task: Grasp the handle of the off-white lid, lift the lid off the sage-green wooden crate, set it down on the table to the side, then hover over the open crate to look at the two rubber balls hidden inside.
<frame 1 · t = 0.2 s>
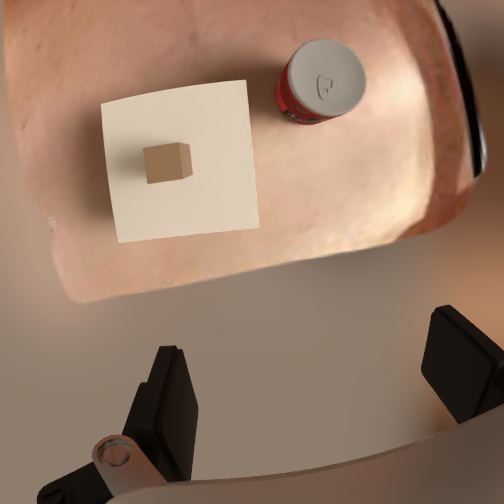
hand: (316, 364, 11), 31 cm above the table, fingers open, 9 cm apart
canned food: (304, 95, 36), on the table
lid: (178, 161, 31), point 7 cm above the table, touching crate
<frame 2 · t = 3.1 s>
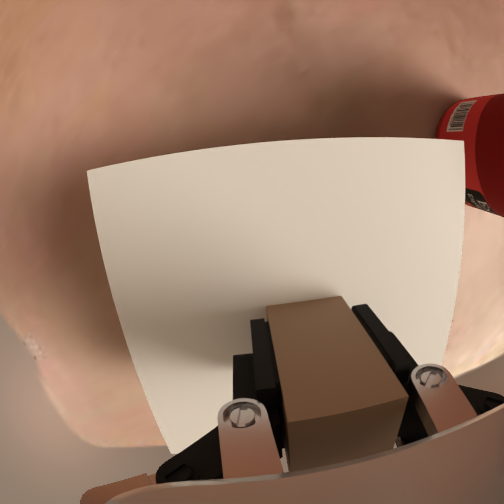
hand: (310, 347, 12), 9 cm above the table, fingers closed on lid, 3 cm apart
canned food: (467, 151, 19), on the table
lid: (301, 321, 14), point 7 cm above the table, touching crate, gripper
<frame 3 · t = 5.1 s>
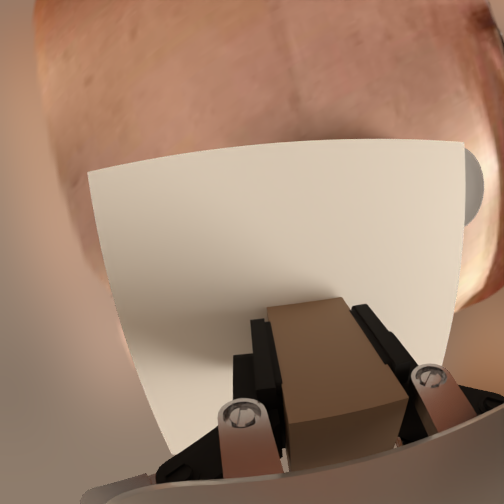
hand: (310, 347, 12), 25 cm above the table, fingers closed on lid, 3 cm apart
canned food: (403, 177, 35), on the table
lid: (301, 322, 14), point 23 cm above the table, touching gripper
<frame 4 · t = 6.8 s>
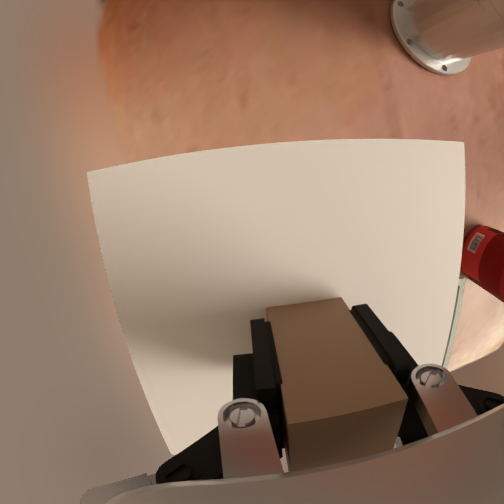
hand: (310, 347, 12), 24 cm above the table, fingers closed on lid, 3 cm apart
canned food: (475, 251, 37), on the table
crate: (386, 315, 38), on the table
lid: (301, 322, 14), point 22 cm above the table, touching gripper
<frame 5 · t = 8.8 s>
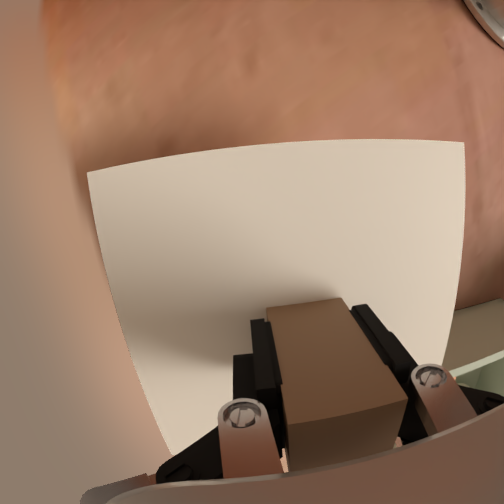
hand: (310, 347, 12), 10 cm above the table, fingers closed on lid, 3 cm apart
crate: (436, 372, 26), on the table
lid: (301, 323, 14), point 8 cm above the table, touching gripper
when the fingers open (3 cm above the table, at t = 10.5 s): lid drops 2 cm, on the table.
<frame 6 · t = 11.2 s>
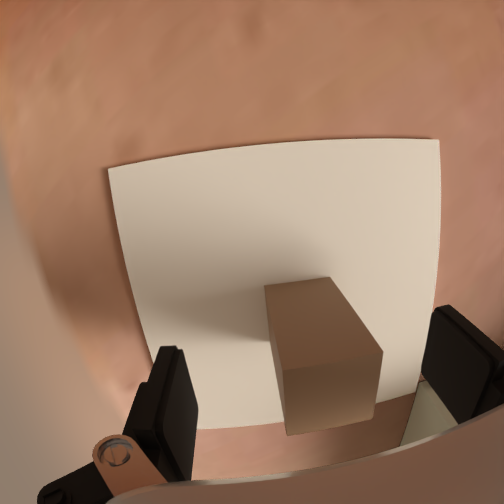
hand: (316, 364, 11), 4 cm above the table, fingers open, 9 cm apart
crate: (468, 419, 19), on the table
lid: (295, 301, 15), on the table
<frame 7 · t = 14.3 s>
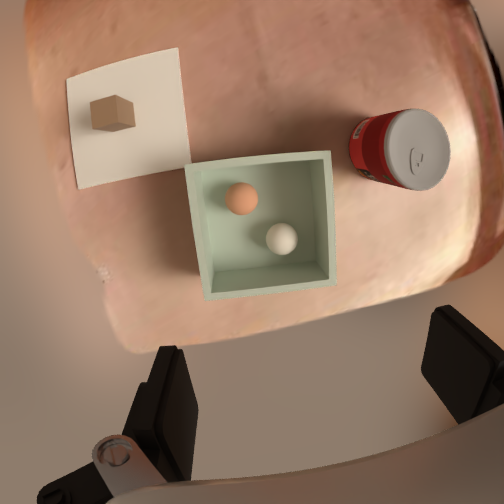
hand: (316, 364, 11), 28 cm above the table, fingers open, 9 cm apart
canned food: (374, 148, 36), on the table
ball cream: (281, 238, 36), point 3 cm above the table, touching crate
crate: (260, 214, 38), on the table
ball terracotta: (241, 198, 34), point 3 cm above the table, touching crate
lid: (125, 118, 34), on the table
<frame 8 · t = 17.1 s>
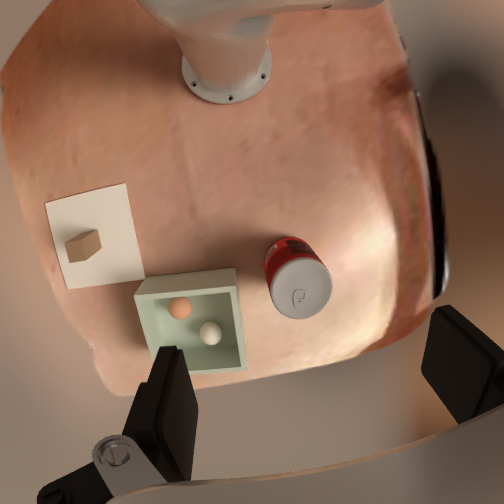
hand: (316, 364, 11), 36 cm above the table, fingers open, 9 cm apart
canned food: (288, 260, 48), on the table
ball cream: (211, 333, 48), point 3 cm above the table, touching crate
crate: (197, 313, 50), on the table
ball terracotta: (179, 307, 47), point 3 cm above the table, touching crate
lid: (94, 238, 46), on the table
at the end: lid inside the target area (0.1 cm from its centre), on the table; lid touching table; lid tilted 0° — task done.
